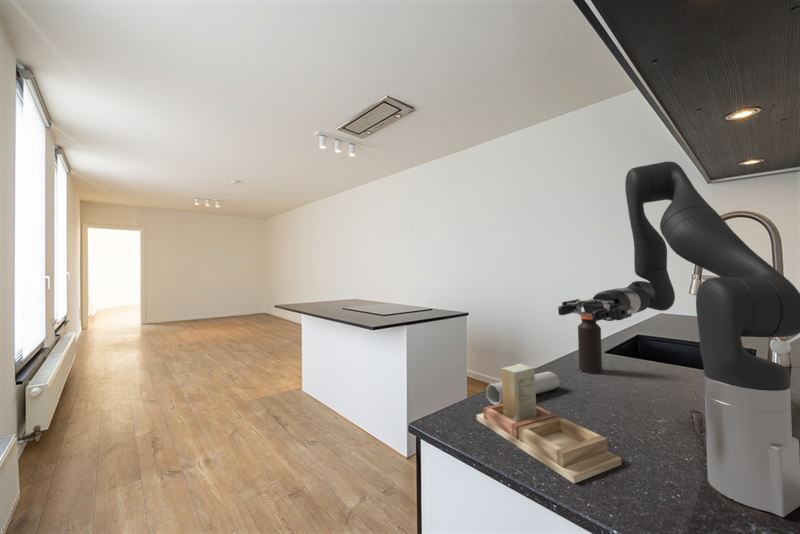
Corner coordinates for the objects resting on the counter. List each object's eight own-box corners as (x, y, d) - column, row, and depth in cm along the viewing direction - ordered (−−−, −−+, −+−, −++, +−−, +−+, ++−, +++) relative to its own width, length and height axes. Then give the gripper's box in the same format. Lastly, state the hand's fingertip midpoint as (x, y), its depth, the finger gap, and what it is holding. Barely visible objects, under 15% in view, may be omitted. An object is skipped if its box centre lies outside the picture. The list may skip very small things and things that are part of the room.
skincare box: (522, 415, 77) (520, 362, 77) (537, 422, 73) (536, 367, 73) (501, 421, 74) (500, 367, 74) (516, 429, 70) (515, 371, 70)
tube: (545, 381, 101) (484, 396, 89) (550, 366, 100) (488, 379, 88) (560, 392, 97) (498, 410, 85) (565, 376, 95) (502, 392, 83)
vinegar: (583, 366, 117) (581, 310, 118) (605, 370, 112) (603, 312, 113) (576, 371, 113) (574, 312, 113) (598, 375, 108) (596, 314, 108)
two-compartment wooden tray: (621, 464, 59) (620, 443, 59) (574, 483, 54) (573, 460, 54) (516, 410, 83) (515, 395, 83) (476, 419, 78) (476, 404, 78)
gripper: (588, 287, 91) (549, 294, 83) (647, 291, 78) (606, 301, 71) (589, 314, 91) (550, 324, 84) (647, 322, 79) (607, 335, 71)
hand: (576, 313), depth 77 cm, fingers open, 8 cm apart
